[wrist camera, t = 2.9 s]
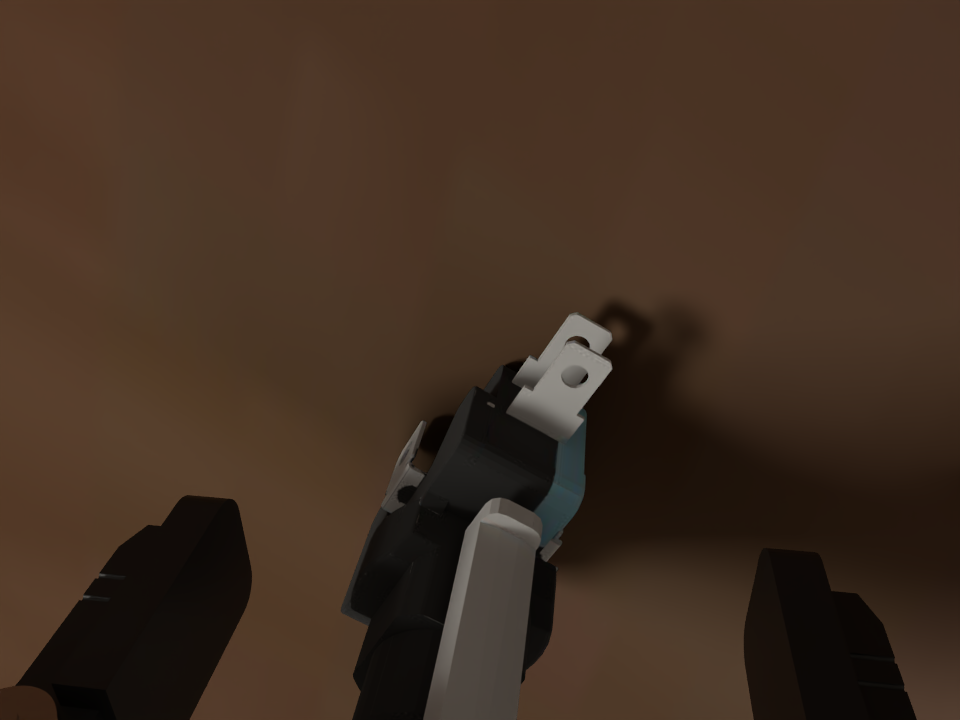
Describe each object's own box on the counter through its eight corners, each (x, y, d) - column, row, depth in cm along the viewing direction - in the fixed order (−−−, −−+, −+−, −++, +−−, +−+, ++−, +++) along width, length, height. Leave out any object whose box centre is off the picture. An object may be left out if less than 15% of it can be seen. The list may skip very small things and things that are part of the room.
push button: (457, 228, 13) (167, 893, 5) (733, 385, 14) (924, 1206, 5) (303, 494, 16) (-28, 1162, 8) (532, 609, 17) (453, 1333, 9)
